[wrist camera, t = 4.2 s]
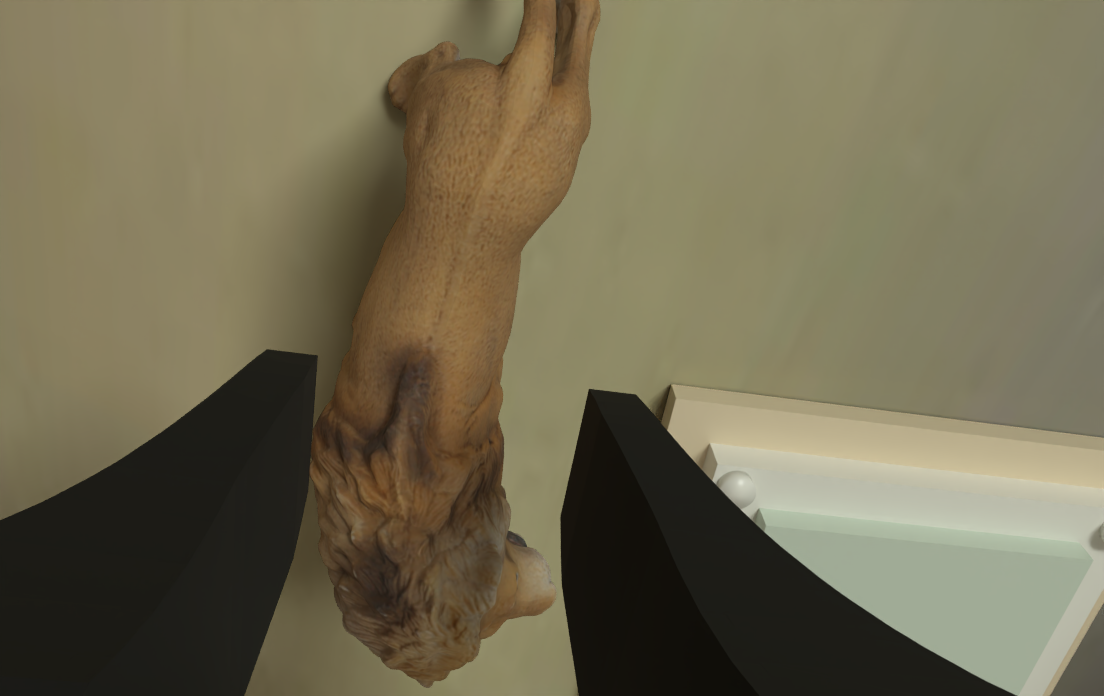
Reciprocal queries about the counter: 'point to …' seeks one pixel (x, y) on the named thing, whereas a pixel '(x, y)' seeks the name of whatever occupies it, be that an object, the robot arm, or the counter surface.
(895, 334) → the counter surface
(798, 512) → the picture frame
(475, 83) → the lion figurine
